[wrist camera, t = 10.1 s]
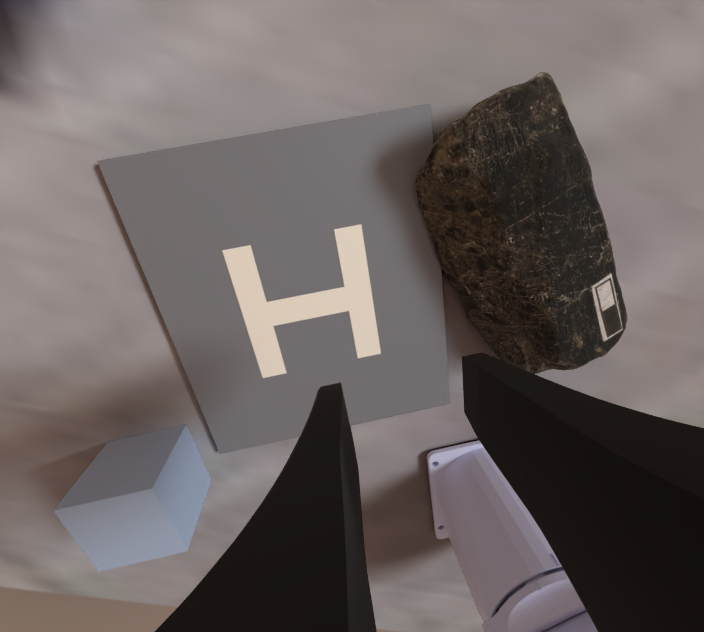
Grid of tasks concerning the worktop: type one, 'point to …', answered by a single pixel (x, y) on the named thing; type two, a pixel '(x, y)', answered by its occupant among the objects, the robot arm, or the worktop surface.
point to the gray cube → (137, 499)
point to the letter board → (293, 270)
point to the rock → (524, 230)
